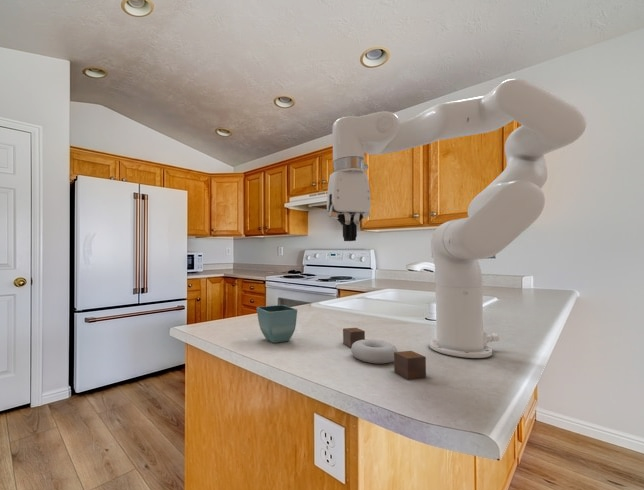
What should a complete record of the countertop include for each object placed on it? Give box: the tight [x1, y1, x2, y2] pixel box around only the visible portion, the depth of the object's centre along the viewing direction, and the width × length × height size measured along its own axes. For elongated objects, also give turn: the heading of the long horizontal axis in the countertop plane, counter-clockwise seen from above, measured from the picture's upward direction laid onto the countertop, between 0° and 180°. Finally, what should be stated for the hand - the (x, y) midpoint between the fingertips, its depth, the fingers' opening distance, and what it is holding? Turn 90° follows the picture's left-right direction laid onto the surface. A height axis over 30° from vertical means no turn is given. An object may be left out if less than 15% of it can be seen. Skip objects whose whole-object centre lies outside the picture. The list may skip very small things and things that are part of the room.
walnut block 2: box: [393, 350, 427, 380], centre depth 62 cm, size 4×4×4 cm
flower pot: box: [256, 304, 298, 344], centre depth 88 cm, size 9×9×9 cm
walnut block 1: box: [342, 327, 366, 349], centre depth 83 cm, size 4×4×4 cm
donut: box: [350, 338, 399, 365], centre depth 72 cm, size 10×4×10 cm
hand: (349, 240), depth 80 cm, fingers closed
